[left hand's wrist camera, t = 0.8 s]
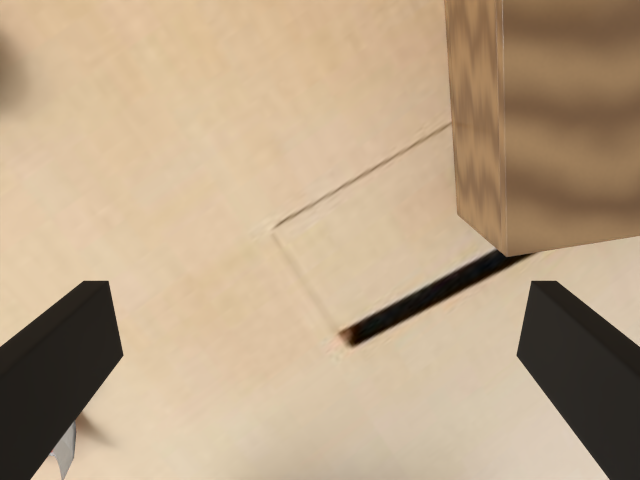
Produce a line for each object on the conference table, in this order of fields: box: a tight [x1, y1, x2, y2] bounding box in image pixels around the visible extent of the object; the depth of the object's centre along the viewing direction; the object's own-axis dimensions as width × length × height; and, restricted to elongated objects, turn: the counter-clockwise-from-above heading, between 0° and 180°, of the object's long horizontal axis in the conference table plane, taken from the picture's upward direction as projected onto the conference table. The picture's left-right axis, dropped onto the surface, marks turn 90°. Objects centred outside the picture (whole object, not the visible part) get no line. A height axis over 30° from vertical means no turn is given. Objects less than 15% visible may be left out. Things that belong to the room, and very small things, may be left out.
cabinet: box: [445, 0, 640, 257], centre depth 30 cm, size 19×10×11 cm, turn 10°
